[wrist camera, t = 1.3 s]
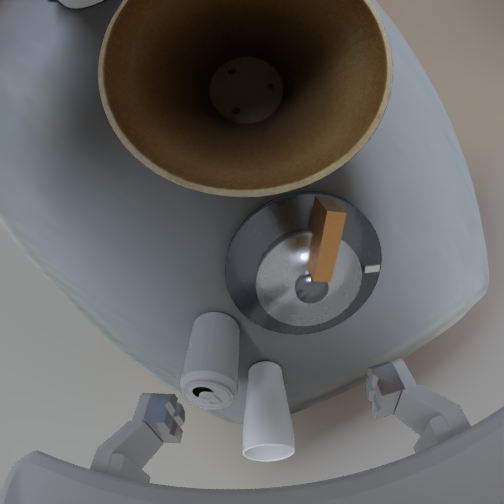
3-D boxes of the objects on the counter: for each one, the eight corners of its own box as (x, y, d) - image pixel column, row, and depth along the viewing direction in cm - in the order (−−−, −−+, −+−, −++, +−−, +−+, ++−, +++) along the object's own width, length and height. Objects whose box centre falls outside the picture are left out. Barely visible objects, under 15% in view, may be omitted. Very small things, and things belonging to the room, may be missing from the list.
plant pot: (321, 157, 27) (391, 198, 13) (179, 162, 28) (108, 207, 13) (317, 27, 21) (377, -44, 7) (174, 32, 21) (106, -33, 7)
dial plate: (215, 199, 29) (213, 203, 28) (383, 189, 29) (389, 192, 27) (236, 333, 38) (235, 340, 36) (367, 319, 37) (370, 326, 36)
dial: (342, 317, 35) (353, 344, 30) (251, 313, 34) (251, 343, 30) (373, 203, 28) (395, 219, 23) (264, 189, 28) (267, 204, 23)
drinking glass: (286, 380, 43) (294, 459, 29) (245, 383, 43) (244, 462, 30) (286, 354, 40) (296, 441, 26) (241, 357, 40) (238, 445, 27)
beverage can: (222, 300, 35) (212, 373, 25) (249, 332, 38) (248, 403, 27) (184, 319, 37) (165, 389, 26) (212, 348, 39) (203, 416, 28)
